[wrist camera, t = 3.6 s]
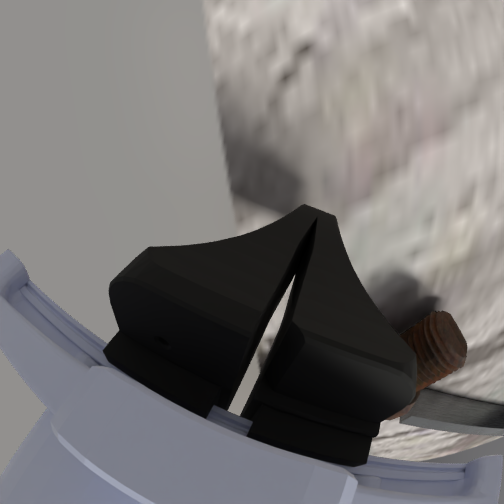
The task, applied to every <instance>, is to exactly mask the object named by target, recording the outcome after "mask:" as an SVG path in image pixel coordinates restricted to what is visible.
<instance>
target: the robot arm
mask: <svg viewBox="0 0 504 504" xmlns="http://www.w3.org/2000/svg"><path fill="white" fill-rule="evenodd" d="M294 275H295V278H294V282H293V285H292V289H291V292H290V296H289V299H288V303H287V306H286V310H285V313H284V317H283V320H282V323H281V326H280V328H279V331H278V333H277V336H276V338H275V340H274V343H273V345H272V347H271V350H270V352H269V354H268V356H267V359H266V361H265V363H264V365H263V368H262V370H261V372H260V374H259V377H258V379H257V381H256V383H255V385H254V388H253V390H252V392H251V394H250V396H249V398H248V400H247V402H246V404H245V406H244V408H243V411H242V413H241V415H240V416H238V415H235V414H233V413H231V412H228V411H227V410H228V408H229V406H230V404H231V402H232V400H233V398H234V396H235V394H236V392H237V390H238V388H239V386H240V384H241V381H242V379H243V377H244V375H245V373H246V371H247V368H248V366H249V364H250V362H251V360H252V358H253V356H254V354H255V351H256V349H257V347H258V345H259V343H260V341H261V338H262V336H263V334H264V332H265V329H266V327H267V325H268V323H269V321H270V319H271V317H272V315H273V313H274V311H275V310H276V308H277V306H278V304H279V303H280V301H281V299H282V297H283V295H284V294H285V292H286V290H287V288H288V286H289V285H290V283H291V281H292V279H293V277H294ZM109 297H110V303H111V306H112V309H113V312H114V315H115V318H116V321H117V324H118V327H119V332H118V333H117V334H116V335H115V336H114V337H113V338H112V340H111V341H110V342H109V343H108V344H107V343H106V342H104V341H103V340H102V339H100V338H99V337H97V336H96V335H95V334H93V333H92V332H91V331H89V330H88V329H87V328H85V327H84V326H83V325H82V324H80V323H79V322H78V321H76V320H75V319H74V318H73V317H71V316H70V315H69V314H68V313H67V312H65V311H64V310H63V309H62V308H60V307H59V306H58V305H57V304H56V303H55V302H54V301H52V300H51V299H50V298H49V297H48V296H47V295H46V294H44V293H43V292H42V291H41V290H40V289H39V288H38V287H37V286H36V285H35V284H34V283H33V282H32V281H31V280H30V279H29V275H28V273H27V271H26V269H25V267H24V265H23V263H22V262H21V261H20V259H19V258H18V257H16V255H15V254H13V252H11V250H9V249H7V250H6V251H5V252H4V253H2V254H1V255H0V348H1V350H2V351H3V353H4V354H5V356H6V357H7V359H8V360H9V361H10V362H11V364H12V366H13V367H14V368H15V370H16V371H17V372H18V374H19V375H20V376H21V378H22V379H23V380H24V381H25V383H26V384H27V385H28V386H29V387H30V389H31V390H32V391H33V392H34V393H35V395H36V396H37V397H38V398H39V399H40V400H41V402H43V404H44V405H45V406H46V407H47V409H46V410H45V412H44V413H43V414H42V416H41V417H40V418H39V420H38V421H37V422H36V424H35V425H34V427H33V428H32V430H31V431H30V432H29V434H28V435H27V437H26V438H25V439H24V441H23V442H22V444H21V445H20V447H19V448H18V450H17V451H16V453H15V454H14V456H13V457H12V459H11V460H10V462H9V463H8V465H7V466H6V468H5V470H4V471H3V473H2V474H1V476H0V504H498V499H499V493H500V485H501V476H502V464H503V456H502V455H488V456H483V457H479V458H477V459H474V460H472V461H470V462H468V463H467V464H448V463H426V462H415V461H405V460H397V459H390V458H383V457H377V456H371V455H369V451H370V446H371V442H372V437H373V438H374V437H376V436H377V435H378V434H379V429H380V423H381V422H382V421H384V420H386V419H387V418H389V417H391V416H393V415H394V414H396V413H398V412H399V411H401V410H402V409H403V408H405V407H406V406H407V405H408V404H410V403H411V402H412V400H413V398H414V397H415V395H416V381H417V361H416V354H415V353H414V351H413V350H412V349H411V348H410V347H409V346H408V345H407V344H406V343H405V341H404V340H403V339H402V338H401V337H400V336H399V335H398V334H397V333H396V332H395V330H394V329H393V328H392V327H391V325H390V324H389V323H388V322H387V320H386V319H385V318H384V317H383V315H382V314H381V313H380V311H379V310H378V309H377V307H376V306H375V304H374V303H373V301H372V300H371V298H370V297H369V295H368V294H367V292H366V290H365V289H364V287H363V286H362V284H361V282H360V280H359V278H358V276H357V274H356V273H355V271H354V269H353V267H352V265H351V262H350V260H349V257H348V255H347V252H346V249H345V247H344V244H343V241H342V238H341V234H340V231H339V227H338V223H337V219H336V217H335V216H334V215H331V214H329V213H326V212H324V211H321V210H319V209H316V208H313V207H311V206H308V205H305V204H304V205H301V206H300V207H298V208H297V209H295V210H294V211H292V212H291V213H289V214H288V215H286V216H284V217H282V218H281V219H279V220H277V221H275V222H273V223H271V224H269V225H267V226H265V227H263V228H260V229H258V230H255V231H253V232H250V233H247V234H244V235H241V236H237V237H233V238H228V239H224V240H220V241H215V242H209V243H202V244H193V245H183V246H163V247H162V246H160V247H148V248H147V249H146V250H145V251H143V252H142V253H141V254H139V255H138V256H137V257H136V258H135V259H134V260H133V261H132V262H131V263H130V264H129V265H128V266H127V267H126V268H124V270H122V271H121V272H120V273H119V274H118V275H117V276H116V277H115V278H114V279H113V280H112V281H111V282H110V286H109Z"/></svg>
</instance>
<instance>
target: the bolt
mask: <svg viewBox="0 0 504 504" xmlns="http://www.w3.org/2000/svg"><path fill="white" fill-rule="evenodd" d="M400 337H401V338H402V339H403V340H404V341H405V343H406V344H407V345H408V346H409V347H410V348H411V349H412V350H413V351H414V353H415V354H416V361H417V381H416V395H415V397H414V398H413V400H412V402H411V403H410V404H408V405H407V406H406V407H405V408H403V409H402V410H401V411H399V412H398V413H396V414H394V415H393V416H391V417H389V418H387V419H386V420H392V419H395V418H397V417H400V416H403V415H405V414H407V413H408V411H409V410H410V409H411V408H412V407H413V406H414V404H415V402H416V401H417V399H418V397H419V395H420V391H421V389H424V388H425V387H427V386H429V385H431V384H432V383H435V382H436V381H438V380H441V378H444V377H446V376H447V375H448V374H451V373H452V372H453V371H457V370H458V369H459V368H462V367H463V366H464V363H465V360H466V357H467V356H466V353H467V343H466V340H465V339H464V337H463V335H462V333H461V331H460V329H459V328H458V326H457V324H456V322H455V321H454V319H453V317H452V316H451V314H449V313H448V312H445V311H443V310H442V311H441V312H440V311H438V312H436V311H435V312H434V311H432V312H431V315H427V316H426V317H425V319H422V321H421V322H419V323H417V324H416V325H415V326H413V327H411V328H410V329H409V330H407V331H406V332H405V333H402V334H401V335H400Z"/></svg>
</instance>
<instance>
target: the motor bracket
mask: <svg viewBox="0 0 504 504" xmlns="http://www.w3.org/2000/svg"><path fill="white" fill-rule="evenodd" d="M399 423H401V424H406V425H411V426H416V427H422V428H428V429H434V430H441V431H448V432H456V433H465V434H476V435H492V436H504V406H502V405H497V404H491V403H486V402H481V401H476V400H472V399H467V398H462V397H458V396H454V395H450V394H446V393H442V392H438V391H434V390H430V389H426V388H424V389H421V391H420V395H419V397H418V399H417V401H416V402H415V404H414V406H413V407H412V408H411V409H410V410H409V411H408V413H407V414H405V415H403V416H400V422H399Z"/></svg>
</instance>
